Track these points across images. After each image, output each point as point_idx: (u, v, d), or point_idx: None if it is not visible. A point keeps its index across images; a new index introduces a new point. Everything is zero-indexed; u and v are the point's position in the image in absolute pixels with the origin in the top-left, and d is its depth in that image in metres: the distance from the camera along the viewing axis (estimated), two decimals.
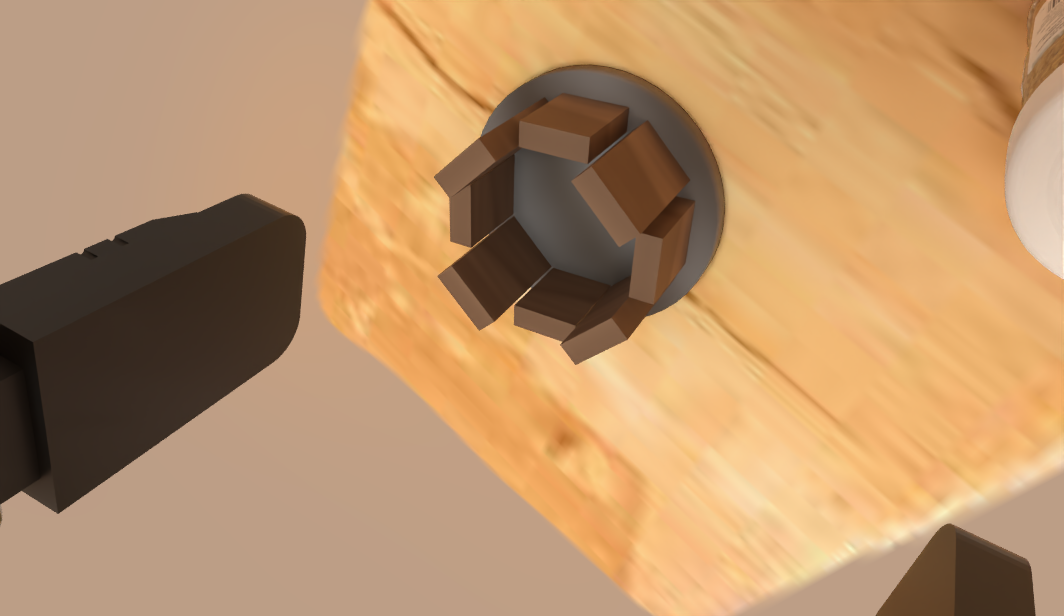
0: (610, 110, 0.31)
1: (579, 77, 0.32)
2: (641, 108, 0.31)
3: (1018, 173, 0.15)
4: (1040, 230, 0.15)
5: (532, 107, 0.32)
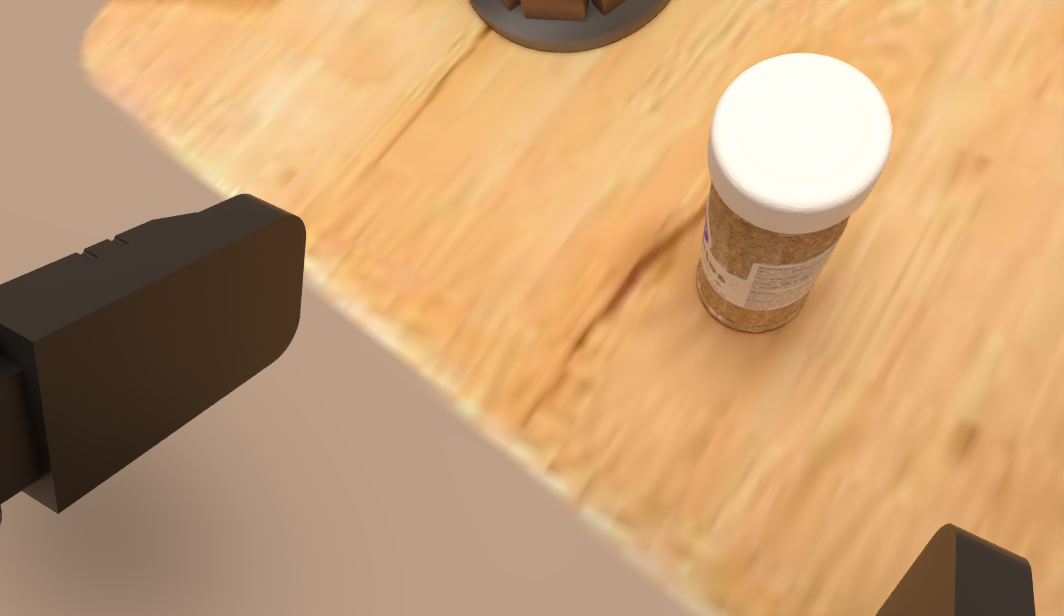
0: None
1: None
2: None
3: (797, 55, 0.22)
4: (758, 74, 0.22)
5: None
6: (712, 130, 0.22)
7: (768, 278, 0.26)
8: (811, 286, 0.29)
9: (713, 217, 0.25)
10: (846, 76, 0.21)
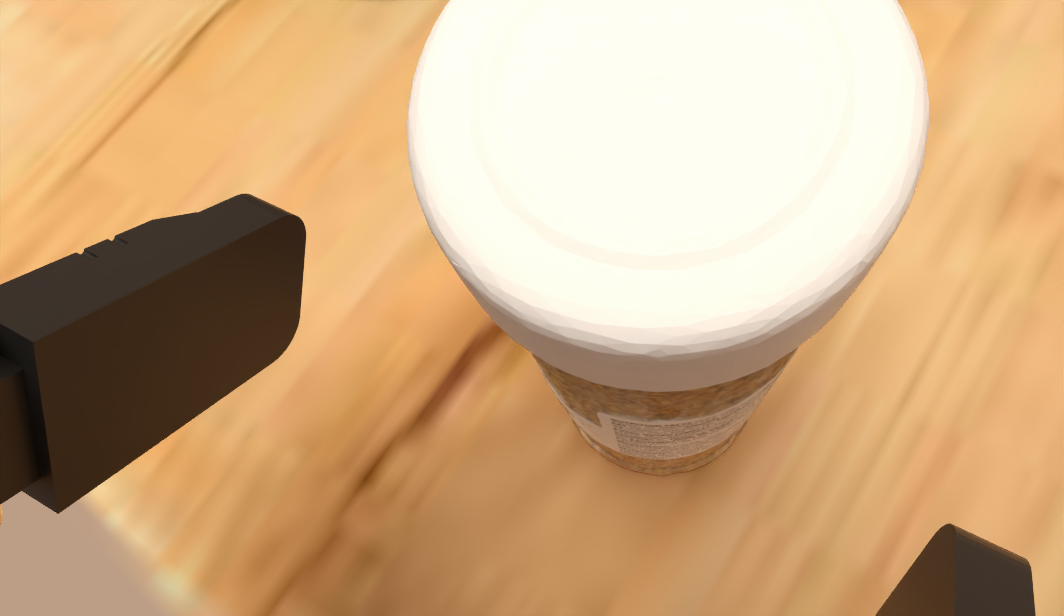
0: None
1: None
2: None
3: None
4: None
5: None
6: (409, 99, 0.07)
7: (639, 433, 0.12)
8: (747, 418, 0.15)
9: None
10: None
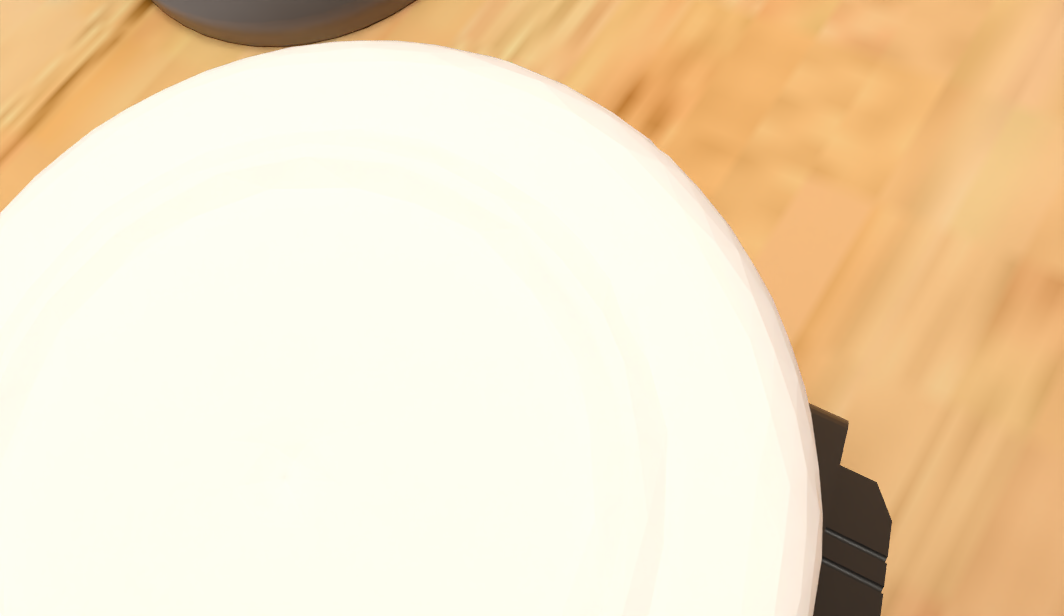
0: None
1: None
2: None
3: (341, 53, 0.04)
4: (132, 151, 0.04)
5: None
6: None
7: None
8: None
9: None
10: (567, 178, 0.04)
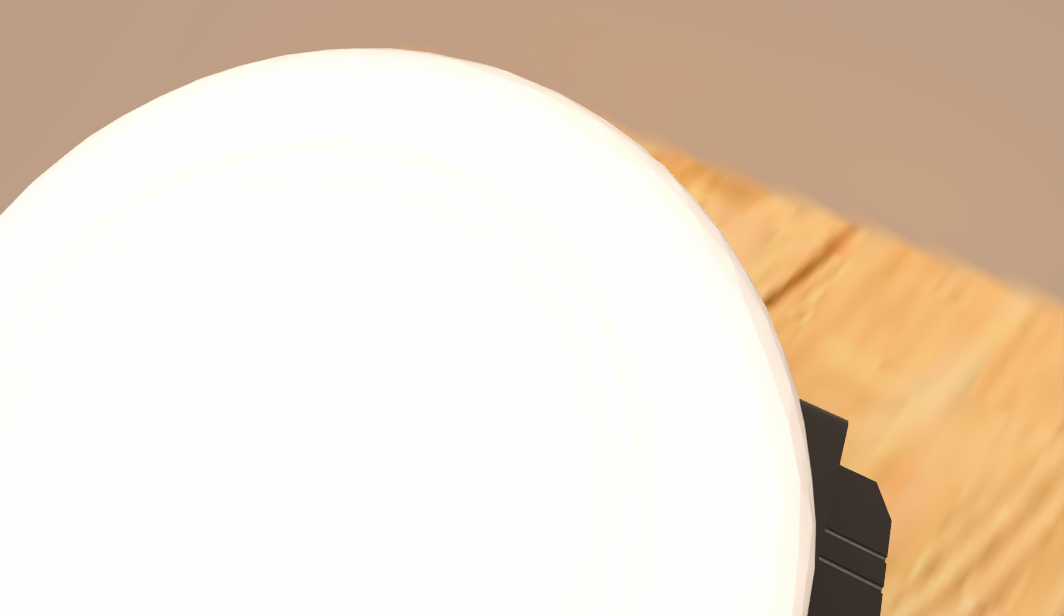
0: None
1: None
2: None
3: (336, 61, 0.04)
4: (127, 159, 0.04)
5: None
6: None
7: None
8: None
9: None
10: (561, 185, 0.04)
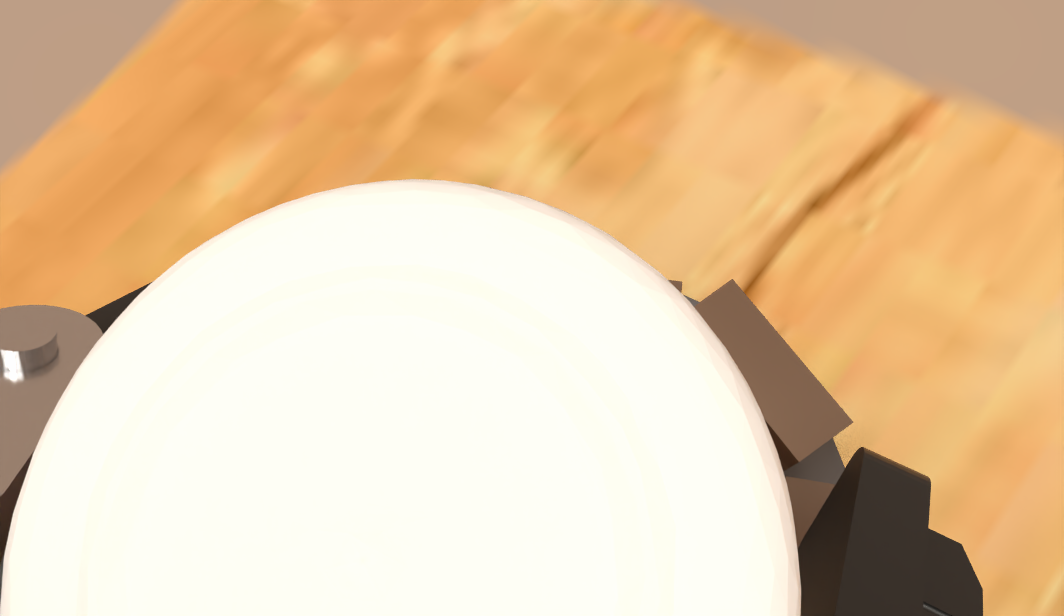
0: None
1: None
2: None
3: (398, 194, 0.05)
4: (223, 278, 0.05)
5: None
6: (13, 525, 0.05)
7: None
8: None
9: None
10: (592, 309, 0.04)
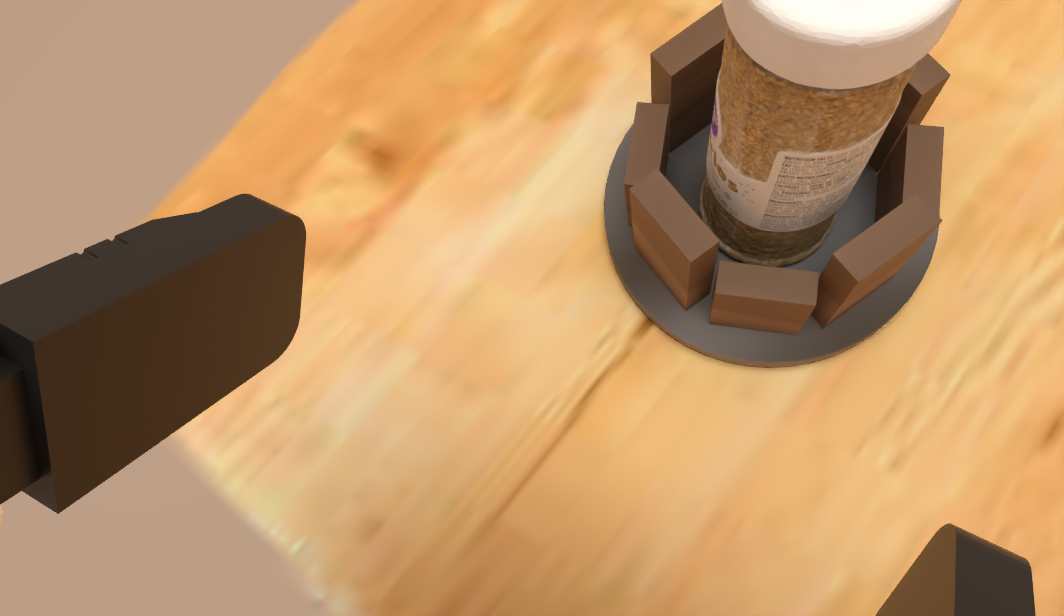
0: None
1: None
2: (904, 270, 0.27)
3: None
4: None
5: None
6: None
7: (795, 176, 0.20)
8: (844, 201, 0.24)
9: (726, 92, 0.20)
10: None
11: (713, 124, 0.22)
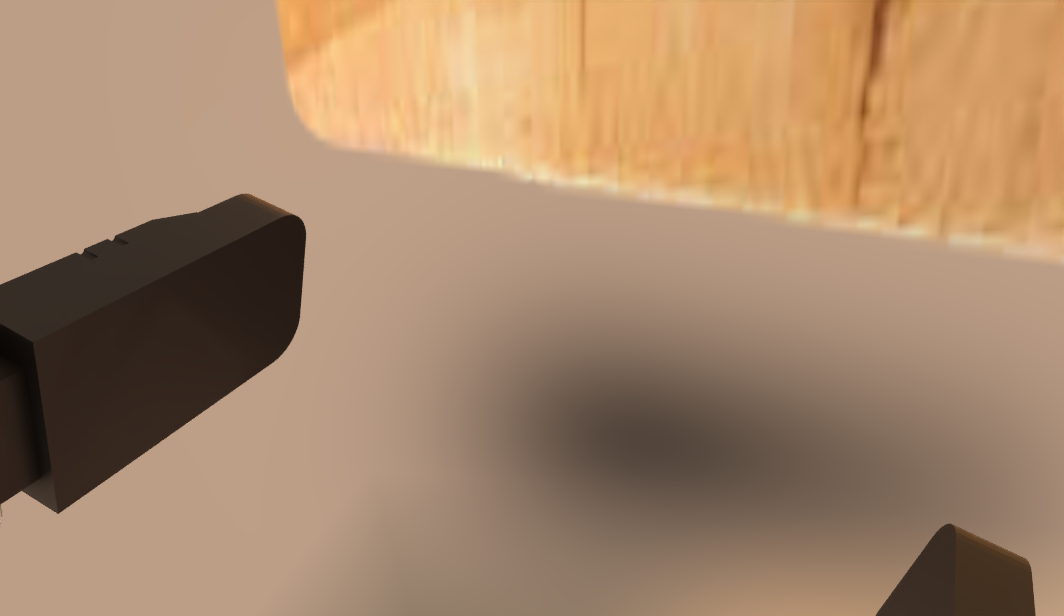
0: None
1: None
2: None
3: None
4: None
5: None
6: None
7: None
8: None
9: None
10: None
11: None
